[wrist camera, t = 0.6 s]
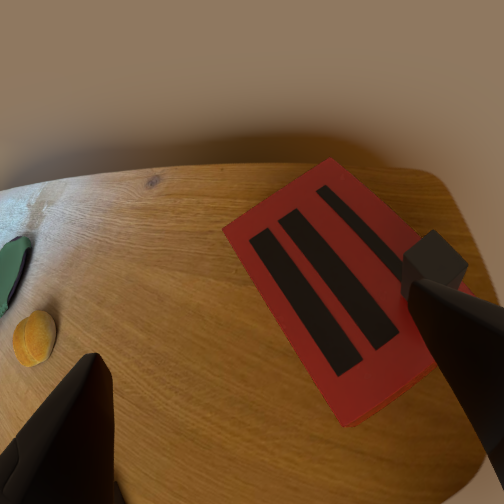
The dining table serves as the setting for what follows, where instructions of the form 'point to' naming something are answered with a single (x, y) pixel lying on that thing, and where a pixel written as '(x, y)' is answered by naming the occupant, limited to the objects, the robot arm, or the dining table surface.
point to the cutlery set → (11, 268)
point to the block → (117, 495)
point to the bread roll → (34, 338)
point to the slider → (432, 263)
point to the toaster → (337, 287)
